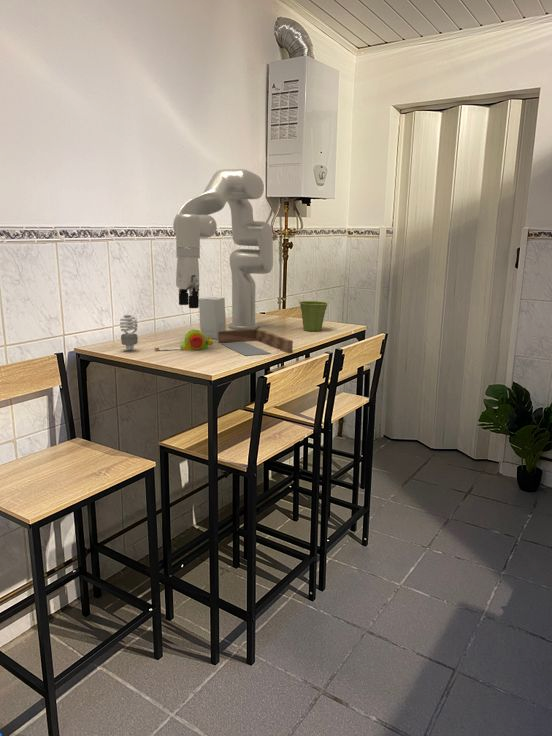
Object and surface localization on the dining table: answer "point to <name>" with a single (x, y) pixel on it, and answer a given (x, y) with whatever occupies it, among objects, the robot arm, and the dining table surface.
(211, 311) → the skincare box
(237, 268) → the robot arm
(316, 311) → the plant pot
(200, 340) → the toy measuring tape
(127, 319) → the light bulb
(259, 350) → the mat
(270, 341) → the wall
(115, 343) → the dining table surface
